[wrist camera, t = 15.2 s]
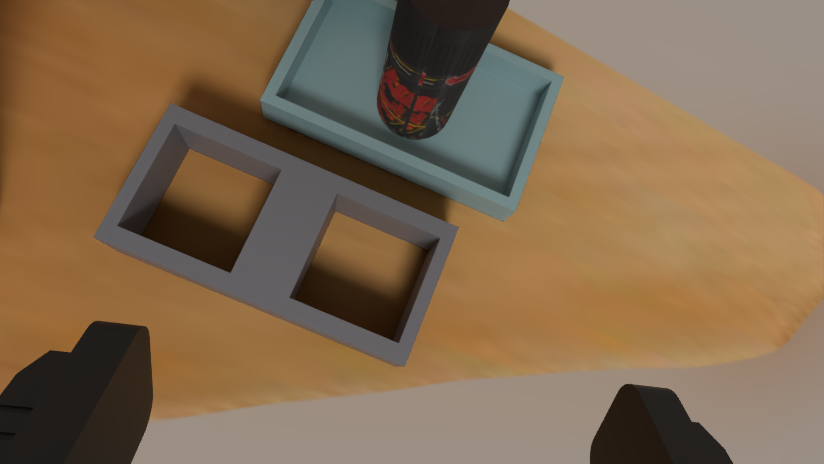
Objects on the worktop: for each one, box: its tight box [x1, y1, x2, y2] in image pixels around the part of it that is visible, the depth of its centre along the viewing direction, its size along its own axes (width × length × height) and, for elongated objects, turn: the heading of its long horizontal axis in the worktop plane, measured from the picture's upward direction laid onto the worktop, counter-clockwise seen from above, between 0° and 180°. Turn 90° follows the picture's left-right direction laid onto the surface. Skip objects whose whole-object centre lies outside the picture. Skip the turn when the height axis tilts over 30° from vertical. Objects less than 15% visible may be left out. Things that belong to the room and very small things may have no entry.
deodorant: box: [377, 0, 510, 140], centre depth 38 cm, size 6×6×15 cm
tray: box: [260, 0, 564, 221], centre depth 45 cm, size 20×12×3 cm, turn 68°
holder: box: [94, 103, 459, 367], centre depth 40 cm, size 21×10×4 cm, turn 68°
